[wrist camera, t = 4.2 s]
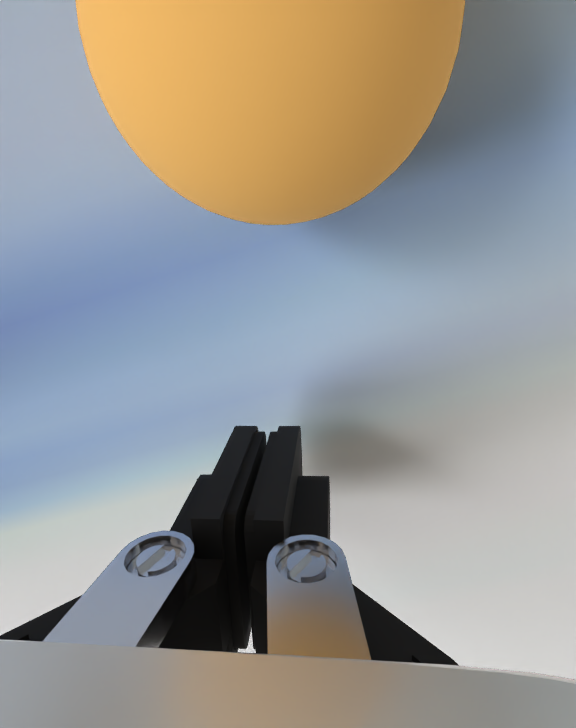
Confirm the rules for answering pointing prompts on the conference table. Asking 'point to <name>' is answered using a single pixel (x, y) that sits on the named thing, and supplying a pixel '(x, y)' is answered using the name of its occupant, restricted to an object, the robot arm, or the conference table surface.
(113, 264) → the conference table surface
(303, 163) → the ball
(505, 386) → the conference table surface
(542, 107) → the conference table surface
